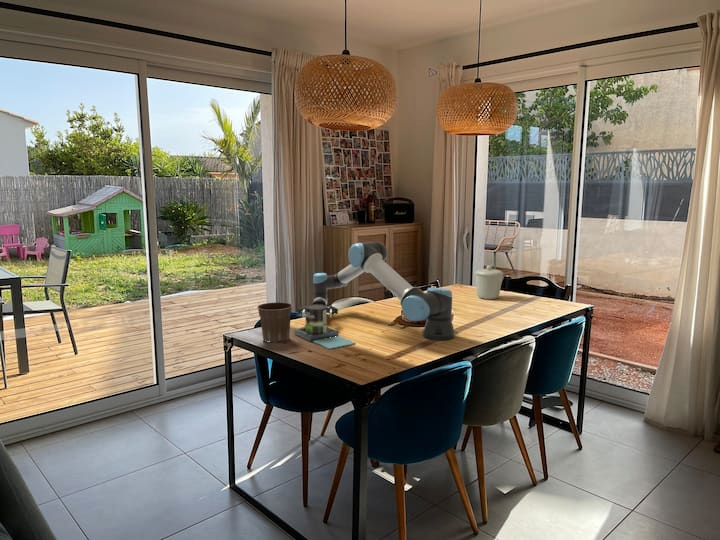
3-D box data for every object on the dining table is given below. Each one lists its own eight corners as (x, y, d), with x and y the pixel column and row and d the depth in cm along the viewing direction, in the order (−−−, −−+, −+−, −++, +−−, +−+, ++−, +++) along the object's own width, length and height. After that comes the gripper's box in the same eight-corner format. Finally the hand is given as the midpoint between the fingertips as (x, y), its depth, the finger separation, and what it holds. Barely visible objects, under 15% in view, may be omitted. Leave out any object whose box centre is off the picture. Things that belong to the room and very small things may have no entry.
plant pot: (253, 343, 246) (252, 309, 243) (264, 334, 262) (263, 301, 259) (288, 345, 244) (287, 310, 241) (297, 335, 259) (296, 302, 257)
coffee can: (315, 339, 252) (314, 310, 250) (301, 335, 259) (300, 306, 257) (331, 335, 259) (331, 306, 257) (317, 331, 266) (317, 303, 264)
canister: (473, 294, 355) (474, 263, 352) (501, 295, 352) (502, 263, 349) (474, 300, 338) (475, 267, 334) (503, 301, 335) (505, 267, 331)
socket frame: (321, 329, 270) (321, 324, 269) (338, 336, 257) (338, 331, 257) (294, 334, 261) (294, 329, 261) (310, 341, 249) (310, 336, 248)
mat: (338, 337, 256) (338, 336, 256) (355, 344, 245) (355, 342, 245) (313, 342, 248) (313, 340, 248) (329, 349, 237) (329, 348, 237)
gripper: (342, 312, 289) (342, 322, 268) (296, 312, 288) (291, 322, 267) (342, 298, 287) (342, 307, 266) (295, 298, 287) (291, 307, 266)
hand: (316, 314), depth 267 cm, fingers open, 13 cm apart
